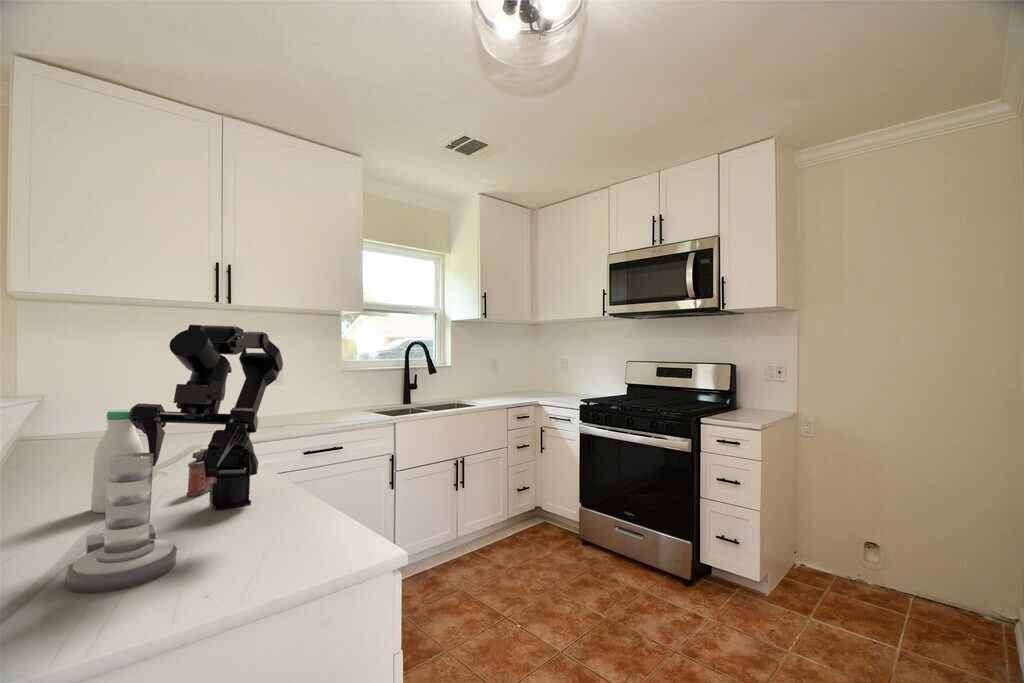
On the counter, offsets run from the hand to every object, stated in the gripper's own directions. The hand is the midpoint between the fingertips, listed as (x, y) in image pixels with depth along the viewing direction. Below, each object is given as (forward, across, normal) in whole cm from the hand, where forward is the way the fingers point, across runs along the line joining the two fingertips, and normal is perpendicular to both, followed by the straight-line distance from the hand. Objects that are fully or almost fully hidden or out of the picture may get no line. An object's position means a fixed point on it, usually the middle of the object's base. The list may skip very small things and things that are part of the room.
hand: (184, 465), depth 78 cm
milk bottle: (0, -17, +29) cm, 33 cm away
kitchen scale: (+15, -4, -1) cm, 16 cm away
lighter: (-4, -4, +35) cm, 36 cm away
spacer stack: (+14, -3, -4) cm, 15 cm away
